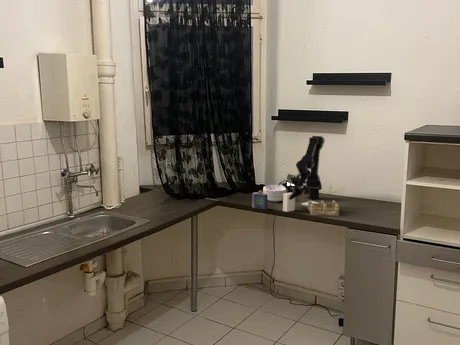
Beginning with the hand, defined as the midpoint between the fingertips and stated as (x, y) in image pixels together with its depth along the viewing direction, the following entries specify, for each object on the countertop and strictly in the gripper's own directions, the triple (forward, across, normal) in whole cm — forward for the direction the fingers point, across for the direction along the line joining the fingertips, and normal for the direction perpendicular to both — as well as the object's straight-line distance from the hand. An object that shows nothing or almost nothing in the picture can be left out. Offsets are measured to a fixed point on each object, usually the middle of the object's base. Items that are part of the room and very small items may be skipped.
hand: (287, 198), depth 270 cm
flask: (+12, -13, -1) cm, 18 cm away
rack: (-6, +14, +16) cm, 21 cm away
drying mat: (-10, 0, +20) cm, 23 cm away
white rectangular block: (+4, 0, +6) cm, 7 cm away
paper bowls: (-3, -23, +13) cm, 27 cm away
